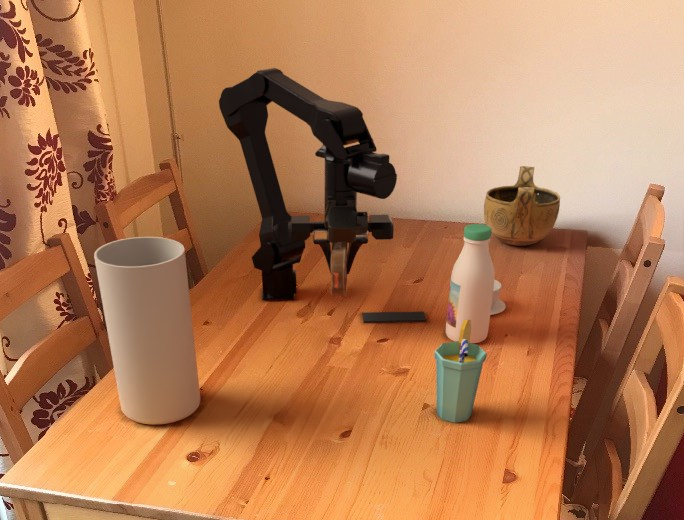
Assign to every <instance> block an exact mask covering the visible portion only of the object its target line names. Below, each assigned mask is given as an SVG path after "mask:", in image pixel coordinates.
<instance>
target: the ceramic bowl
mask: <svg viewBox="0 0 684 520" xmlns="http://www.w3.org/2000/svg"><path fill="white" fill-rule="evenodd" d="M534 175H535V166H527V165H521V166H519V171H518V177H517V181H516V182H515V184H514V185H502V186H497V187H493V188H490V189H488V190H487V191H486V193H485V198H484V202H483V203H484V204H483V219H484V222H485V223H484V224H485V225H488V226H490V227H491V229H492V232H491V236H493V237H495V238H497V240H499V241H501V242H502V243H505V244H507V245H509V246H515V247H524V246H525V247H526V246H530V245H534V244H536V243H539V242H540V241H542V240H543V239H545V238H546V237H547V236H548V235H549V234H550V233H551V231H552V230H553V228H554V227H555V225H556V222H557V220H558V217H559V213H560V206H561V196H560V194H559V193H558V192H556V191H554V190H552V189H548V188H544V187H539V186H537V185H536V184H535V182H534Z"/></svg>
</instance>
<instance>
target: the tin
mask: <svg viewBox="0 0 684 520" xmlns="http://www.w3.org/2000/svg"><path fill="white" fill-rule="evenodd" d="M348 246H349V243H348V242H337V243H331V273H330V275H331V287H330V294H331V296H332V297H343V298H345V297H346V295H347V284H348V274H347V273H346V263H347V255H348Z"/></svg>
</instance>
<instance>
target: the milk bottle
mask: <svg viewBox="0 0 684 520" xmlns="http://www.w3.org/2000/svg"><path fill="white" fill-rule="evenodd" d="M463 229H464V230H463V239H462V240H463V241H464V243H463V247H462V249H461V251H460V254H459V256H458V257H457V258H456V260H455V262H454V265H453V267H452V270H451V275H450V283H449V289H448V290H449V292H448V299H447V300H448V302H447V310H446V319H445V320H446V322H445V336H446V337H447V338H448V339H449V340H451V341H452V342H456V341H459V336H460V329H461V327H462V324H463V321H464V320H471V335H470V341H469V343H472V344H477V343H478V344H479V343H482V342H484V341H485V340H486V339H487V337H488V335H489V327H490V320H491V315H490V313H491V305H492V297H493V288H494V280H495V266H494V263H493V260H492V257H491V254H490V248H489V246H490V242H491V237H492V233H491V232H492V229H491V227H490V226H488V225H486V224H485V223H483V224H482V223H471V224H467V225H465V227H464V228H463Z"/></svg>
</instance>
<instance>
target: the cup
mask: <svg viewBox="0 0 684 520" xmlns="http://www.w3.org/2000/svg"><path fill="white" fill-rule="evenodd" d="M470 335H471V320H464V321H463V324H462V327H461V329H460V336H459V341H456V342H455V341H450V342H442V343H441V344H440V345H439V346H438V347H437V348H436V349H435V350H434V354H433V355H434V359H435V361H436V367H435V368H436V369H435V370H436V415H437V416H438V417H439V418H440V419H441V420H442V421H446V422H449V423H453V424H456V423H463V422H467V421H468V420H469V418H470V417H471V416H472V415H473V410H474V405H475V400H476V395H477V391H478V388H479V384H480V383H479V382H480V379H481V375H482V369H483V365H484V362H486V360H487V356H488V353H487V352H486V351H485V349H483V348H482V347H481V346H480V345H478V344H477V343H469V341H470Z"/></svg>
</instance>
